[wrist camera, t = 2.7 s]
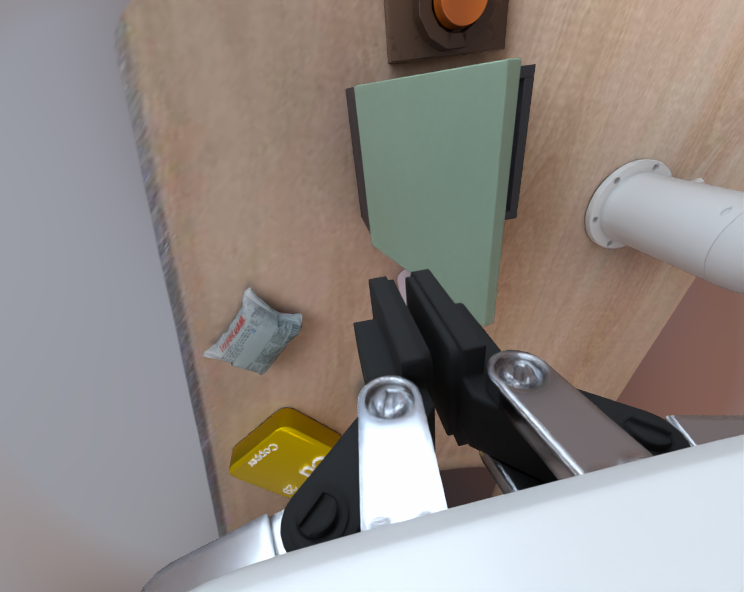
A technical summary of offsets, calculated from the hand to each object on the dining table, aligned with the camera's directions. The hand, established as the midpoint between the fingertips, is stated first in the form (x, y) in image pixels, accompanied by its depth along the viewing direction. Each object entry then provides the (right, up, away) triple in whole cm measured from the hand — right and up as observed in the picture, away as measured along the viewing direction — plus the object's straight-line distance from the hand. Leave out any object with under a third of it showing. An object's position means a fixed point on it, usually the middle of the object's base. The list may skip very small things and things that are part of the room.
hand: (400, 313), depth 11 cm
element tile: (-16, -26, +50) cm, 59 cm away
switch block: (+6, +29, +22) cm, 37 cm away
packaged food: (-18, -4, +36) cm, 41 cm away
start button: (+7, +28, +19) cm, 34 cm away
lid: (+3, +8, +13) cm, 16 cm away
